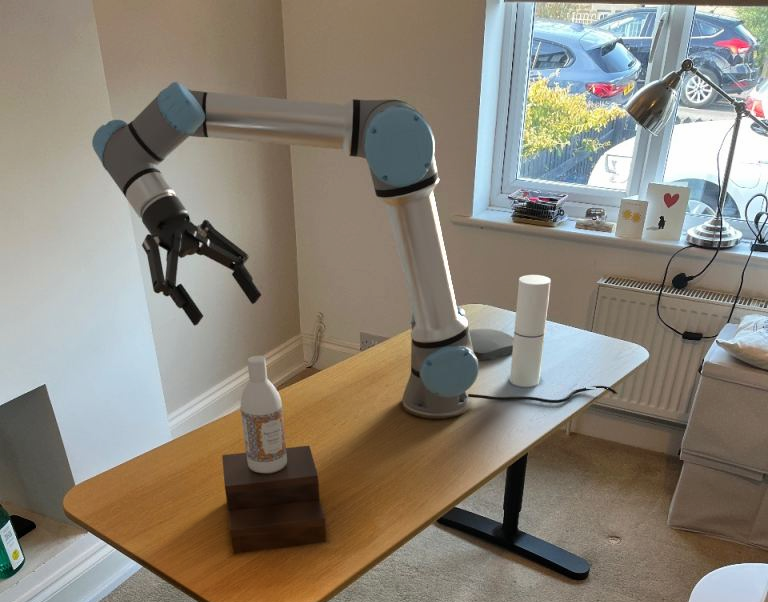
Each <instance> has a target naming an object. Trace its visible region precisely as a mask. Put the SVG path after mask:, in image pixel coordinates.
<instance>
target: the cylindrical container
mask: <svg viewBox="0 0 768 602" xmlns="http://www.w3.org/2000/svg"><path fill="white" fill-rule="evenodd" d="M551 283H552V280H551V278H550V277H548V276H545V275H541V274H525V275H522V276H520V277H519V278H518V287H517V298H516V308H515V321H514V328H513V329H514V331H513V338H514V340H513V352H512V353H511V364H510V375H509V382H510V383H511V384H512V385H514V386H516V387H517V386H518V387H523V388H530V387H535V386H537V385H539V383H540V377H541V370H542V369H541V368H542V360H543V358H542V357H543V353H544V344H545V343H544V342H545V334H546V328H547V327H546V325H547V318H548V317H547V316H548V308H549V300H550V298H549V297H550V290H551Z"/></svg>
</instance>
